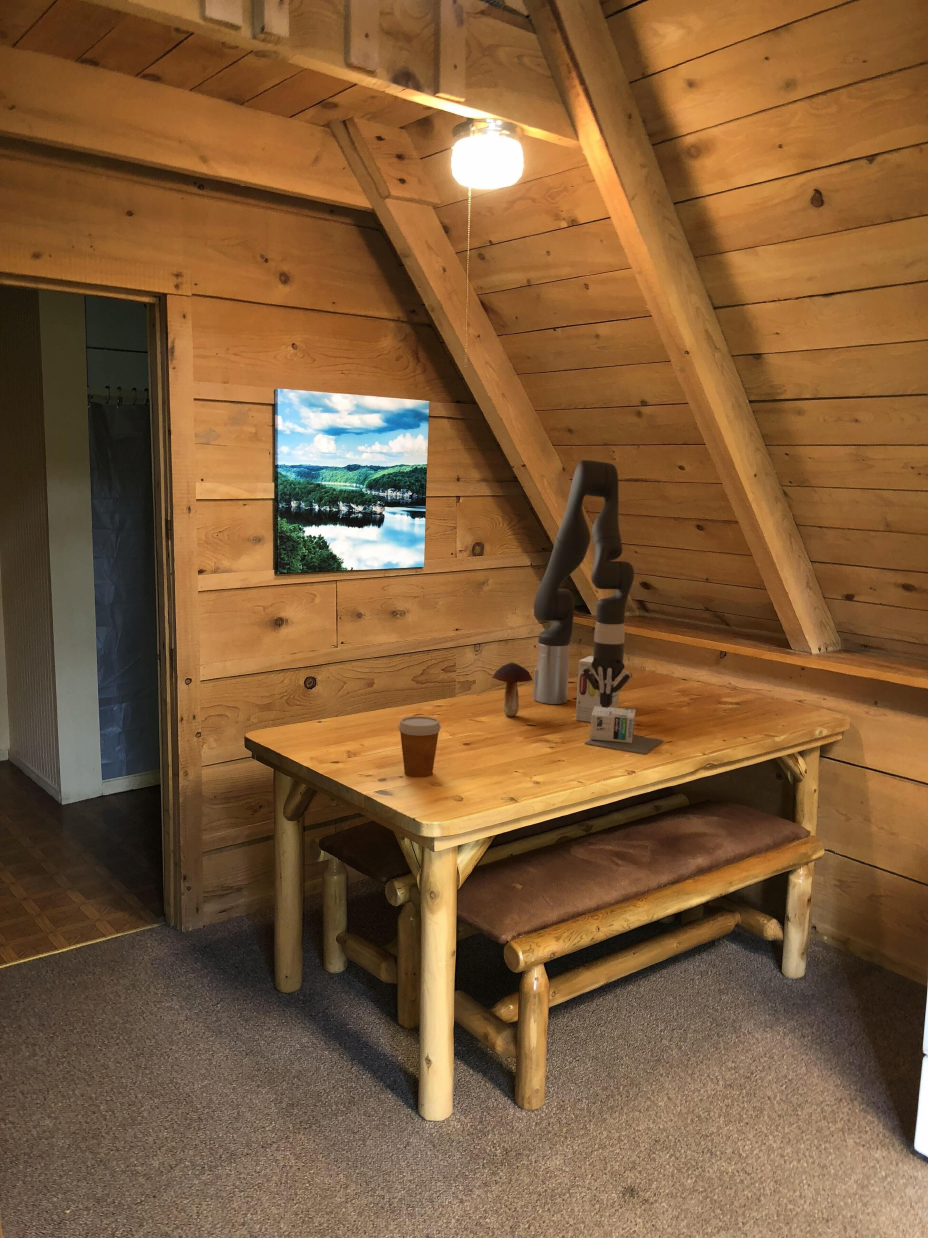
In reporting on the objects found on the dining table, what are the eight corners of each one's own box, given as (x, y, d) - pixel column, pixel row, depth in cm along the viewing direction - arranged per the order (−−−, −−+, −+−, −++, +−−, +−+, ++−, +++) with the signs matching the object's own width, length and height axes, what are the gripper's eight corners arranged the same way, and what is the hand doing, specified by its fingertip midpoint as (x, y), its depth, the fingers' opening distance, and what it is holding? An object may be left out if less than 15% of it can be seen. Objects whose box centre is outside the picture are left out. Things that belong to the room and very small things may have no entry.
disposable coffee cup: (439, 766, 228) (440, 715, 226) (439, 780, 218) (441, 727, 217) (397, 766, 227) (398, 715, 226) (396, 779, 218) (397, 726, 216)
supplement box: (574, 720, 272) (577, 660, 270) (586, 713, 280) (589, 654, 278) (607, 725, 268) (610, 664, 265) (618, 718, 276) (622, 658, 273)
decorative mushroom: (486, 712, 278) (488, 659, 276) (523, 710, 281) (525, 658, 279) (497, 722, 268) (499, 667, 266) (536, 720, 271) (538, 666, 269)
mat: (584, 744, 250) (584, 742, 249) (604, 731, 262) (604, 730, 262) (645, 754, 242) (645, 753, 242) (663, 741, 254) (663, 740, 254)
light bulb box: (589, 740, 252) (632, 744, 250) (591, 714, 251) (634, 718, 249) (592, 729, 262) (634, 733, 260) (594, 704, 261) (636, 708, 259)
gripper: (639, 640, 250) (635, 707, 253) (590, 635, 257) (587, 700, 259) (629, 645, 244) (625, 714, 247) (579, 639, 250) (575, 706, 253)
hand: (605, 706), depth 253 cm, fingers closed
